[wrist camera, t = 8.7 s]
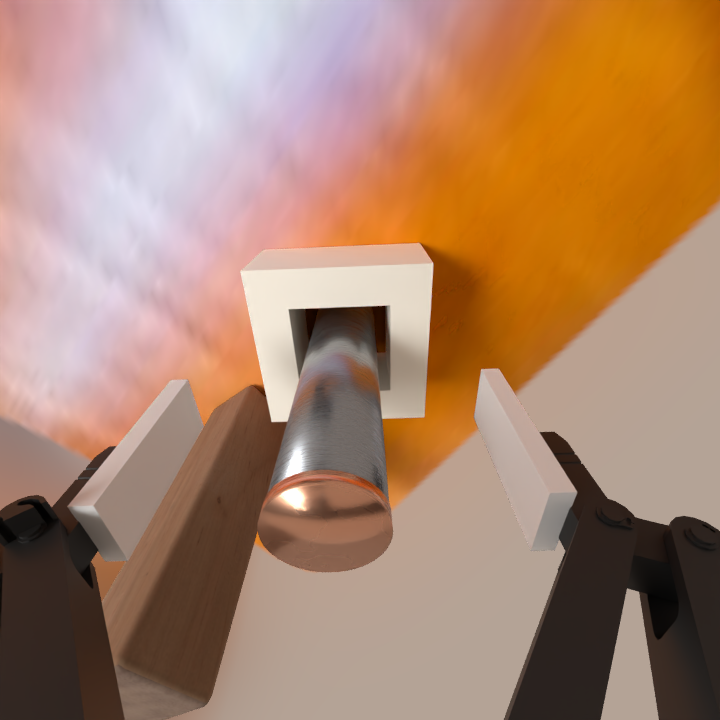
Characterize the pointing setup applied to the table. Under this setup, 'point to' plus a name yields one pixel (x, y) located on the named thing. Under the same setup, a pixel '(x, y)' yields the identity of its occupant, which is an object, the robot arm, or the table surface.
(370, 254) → the socket
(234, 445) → the wooden block
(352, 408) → the peg
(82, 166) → the table surface
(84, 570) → the robot arm
